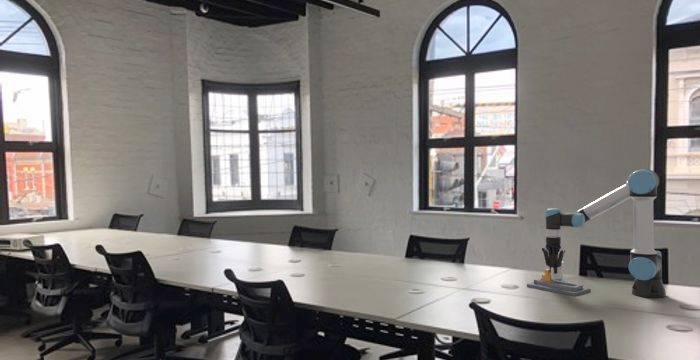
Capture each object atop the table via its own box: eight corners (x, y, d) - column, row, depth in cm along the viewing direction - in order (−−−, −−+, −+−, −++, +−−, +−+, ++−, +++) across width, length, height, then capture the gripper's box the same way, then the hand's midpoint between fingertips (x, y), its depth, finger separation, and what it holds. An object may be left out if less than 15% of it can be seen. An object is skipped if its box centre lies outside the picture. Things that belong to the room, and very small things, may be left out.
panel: (590, 291, 264) (590, 284, 264) (574, 296, 254) (574, 289, 254) (543, 282, 286) (543, 276, 286) (526, 286, 277) (526, 280, 277)
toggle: (554, 283, 274) (554, 269, 274) (550, 285, 272) (549, 270, 272) (546, 282, 278) (545, 268, 278) (541, 283, 276) (541, 269, 276)
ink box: (560, 283, 282) (560, 260, 282) (545, 282, 287) (544, 259, 287) (564, 281, 289) (564, 258, 289) (549, 279, 294) (549, 256, 294)
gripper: (568, 237, 269) (568, 280, 269) (546, 234, 279) (546, 276, 280) (560, 238, 264) (560, 282, 265) (538, 236, 275) (539, 278, 275)
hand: (553, 279), depth 272 cm, fingers closed
